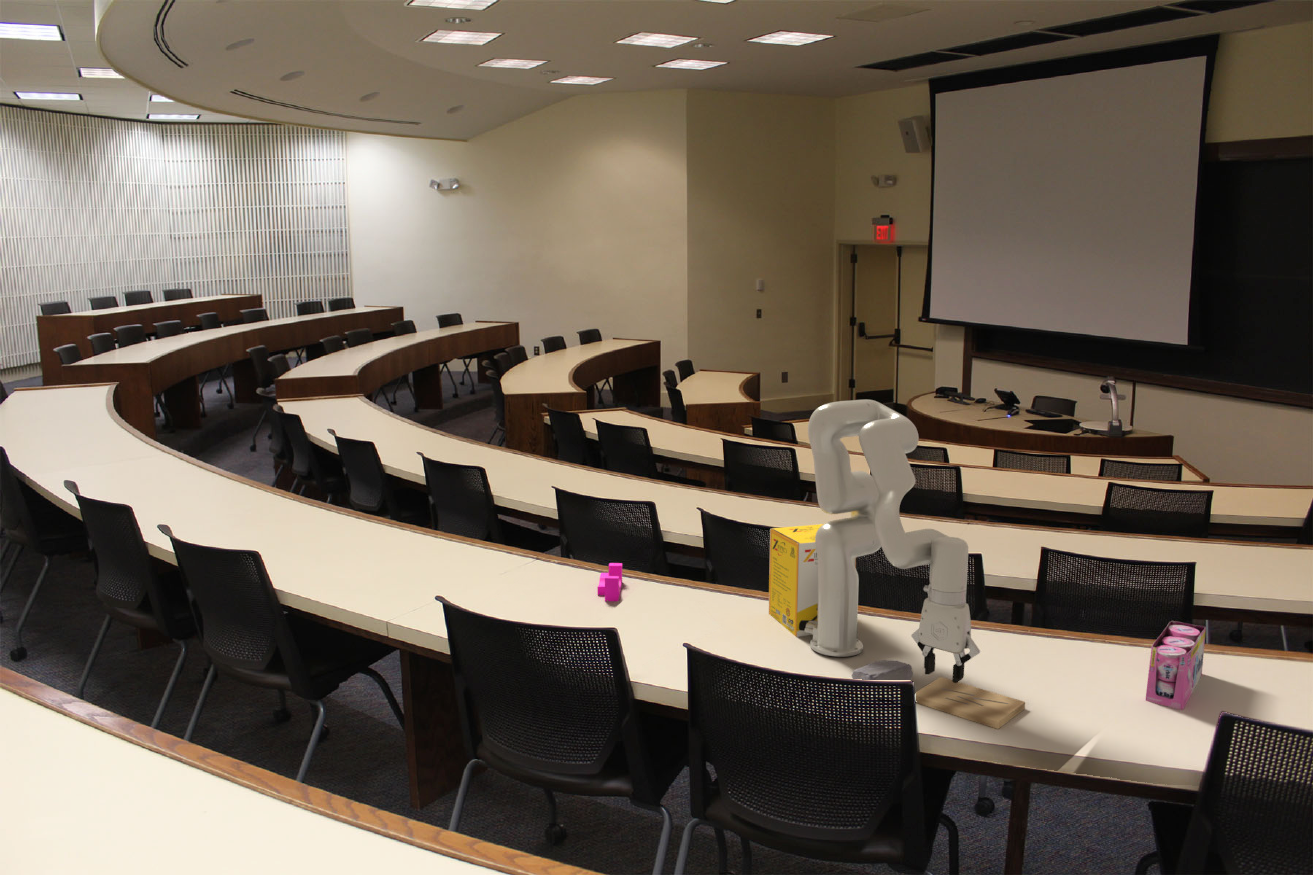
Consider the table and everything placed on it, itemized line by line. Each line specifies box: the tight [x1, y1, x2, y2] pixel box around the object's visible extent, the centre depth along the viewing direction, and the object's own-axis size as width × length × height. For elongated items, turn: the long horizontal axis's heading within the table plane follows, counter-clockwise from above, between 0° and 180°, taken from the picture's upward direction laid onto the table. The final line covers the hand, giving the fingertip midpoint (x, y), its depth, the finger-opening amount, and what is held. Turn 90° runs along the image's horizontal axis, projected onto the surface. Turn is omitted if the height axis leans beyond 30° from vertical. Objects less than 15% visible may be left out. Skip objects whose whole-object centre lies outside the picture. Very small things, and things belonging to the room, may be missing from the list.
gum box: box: [1145, 620, 1207, 711], centre depth 208 cm, size 22×7×13 cm, turn 141°
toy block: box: [597, 562, 623, 602], centre depth 275 cm, size 15×6×8 cm, turn 178°
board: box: [915, 676, 1026, 730], centre depth 202 cm, size 19×13×2 cm
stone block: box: [851, 659, 914, 681], centre depth 213 cm, size 12×5×10 cm
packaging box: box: [768, 523, 857, 638], centre depth 248 cm, size 16×16×25 cm
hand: (943, 676), depth 206 cm, fingers open, 5 cm apart
